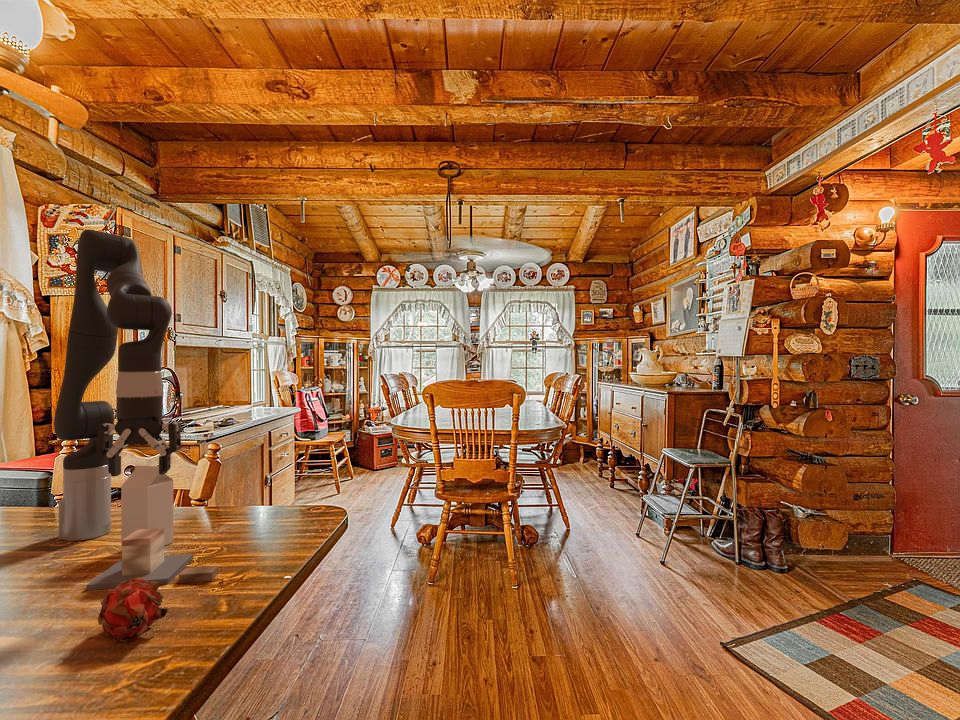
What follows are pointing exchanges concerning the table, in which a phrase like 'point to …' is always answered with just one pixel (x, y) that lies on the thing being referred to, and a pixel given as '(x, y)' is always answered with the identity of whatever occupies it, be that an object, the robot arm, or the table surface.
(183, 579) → the block
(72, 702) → the table surface
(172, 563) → the charcoal mat
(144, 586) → the dragon fruit
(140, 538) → the pinkish tan block
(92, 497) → the robot arm
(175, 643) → the table surface
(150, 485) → the milk carton
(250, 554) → the table surface
